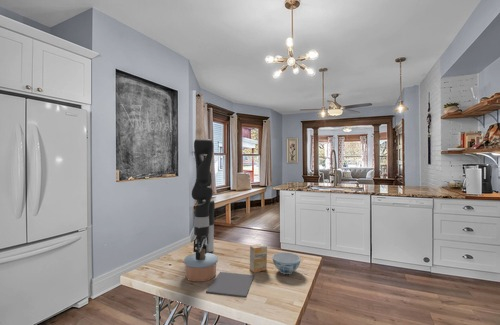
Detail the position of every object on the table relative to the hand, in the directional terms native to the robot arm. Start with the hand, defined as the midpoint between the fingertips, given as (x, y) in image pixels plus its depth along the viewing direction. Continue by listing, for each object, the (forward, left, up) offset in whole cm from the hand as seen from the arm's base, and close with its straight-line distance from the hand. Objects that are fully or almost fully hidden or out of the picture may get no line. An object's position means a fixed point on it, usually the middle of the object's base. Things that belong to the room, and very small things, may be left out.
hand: (201, 256), depth 124 cm
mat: (+6, +18, -9) cm, 21 cm away
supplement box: (-12, +28, -10) cm, 32 cm away
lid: (0, 0, -2) cm, 2 cm away
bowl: (0, 0, -9) cm, 9 cm away
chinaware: (-13, +43, -10) cm, 46 cm away
